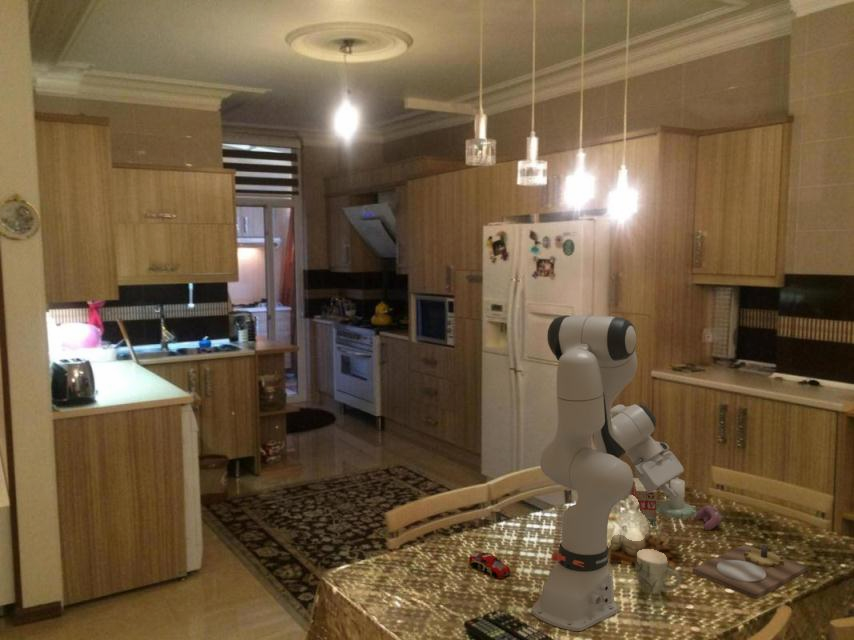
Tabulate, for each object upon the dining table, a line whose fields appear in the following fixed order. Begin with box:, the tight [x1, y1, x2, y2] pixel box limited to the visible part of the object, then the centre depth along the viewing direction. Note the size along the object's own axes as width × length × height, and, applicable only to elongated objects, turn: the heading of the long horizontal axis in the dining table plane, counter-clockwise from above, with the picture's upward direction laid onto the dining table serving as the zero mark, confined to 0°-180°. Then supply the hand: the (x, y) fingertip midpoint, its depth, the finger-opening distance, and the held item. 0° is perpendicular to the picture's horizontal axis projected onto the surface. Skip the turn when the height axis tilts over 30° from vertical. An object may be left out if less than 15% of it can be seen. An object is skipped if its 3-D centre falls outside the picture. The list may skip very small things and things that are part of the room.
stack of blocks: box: [629, 477, 658, 526], centre depth 230 cm, size 21×6×12 cm, turn 169°
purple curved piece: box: [692, 504, 722, 531], centre depth 222 cm, size 10×5×7 cm, turn 0°
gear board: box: [691, 544, 809, 600], centre depth 190 cm, size 26×18×5 cm
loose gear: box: [656, 478, 698, 520], centre depth 198 cm, size 11×11×9 cm
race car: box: [468, 551, 511, 580], centre depth 193 cm, size 13×5×4 cm, turn 39°
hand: (679, 495), depth 197 cm, fingers closed on loose gear, 4 cm apart
